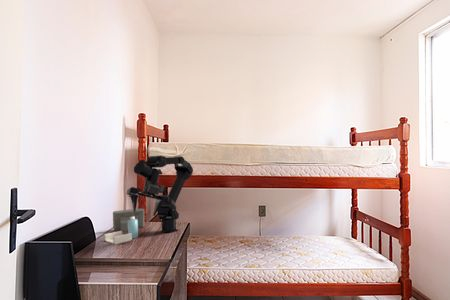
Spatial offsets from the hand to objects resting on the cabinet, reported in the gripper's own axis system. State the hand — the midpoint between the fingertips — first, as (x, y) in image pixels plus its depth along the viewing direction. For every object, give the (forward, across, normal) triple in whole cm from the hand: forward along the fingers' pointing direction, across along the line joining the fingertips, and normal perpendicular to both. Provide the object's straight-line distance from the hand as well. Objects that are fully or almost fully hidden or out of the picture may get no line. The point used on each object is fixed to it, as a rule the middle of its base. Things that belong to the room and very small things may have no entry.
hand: (144, 213), depth 138 cm
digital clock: (+5, +3, +32) cm, 32 cm away
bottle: (+10, +1, +13) cm, 16 cm away
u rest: (+12, -6, +11) cm, 18 cm away
